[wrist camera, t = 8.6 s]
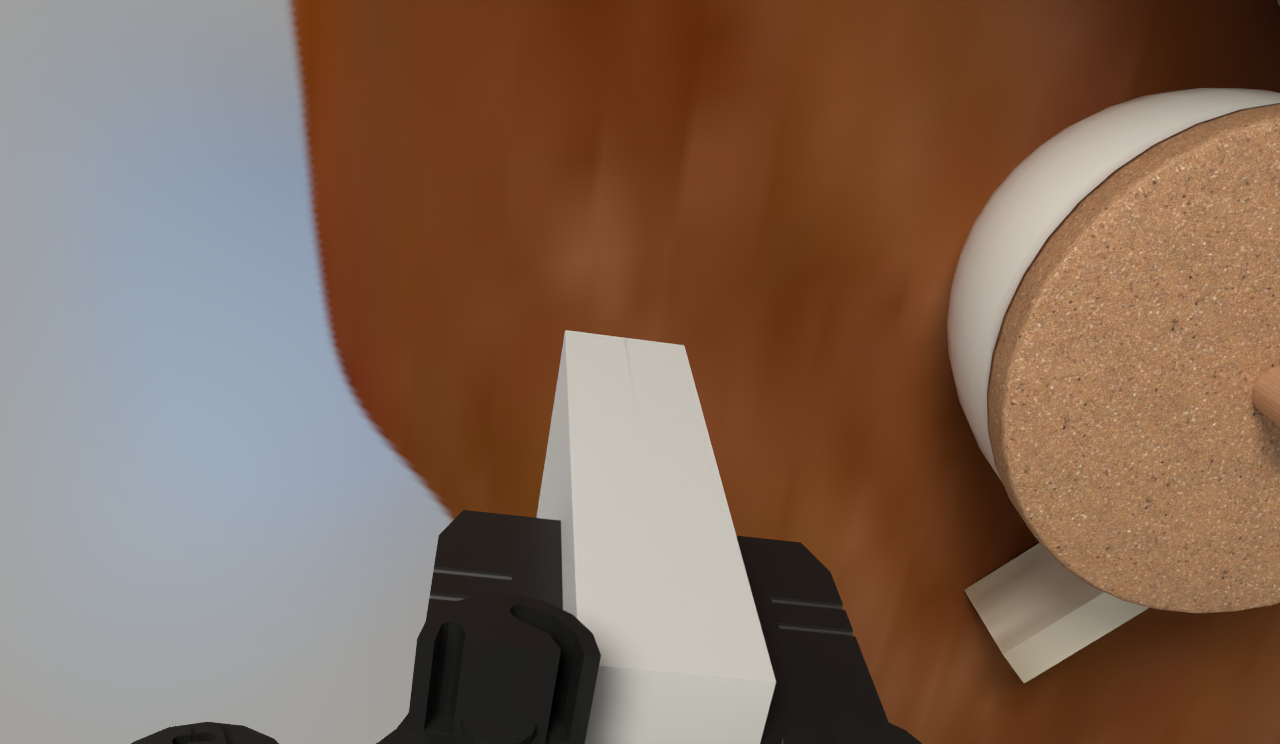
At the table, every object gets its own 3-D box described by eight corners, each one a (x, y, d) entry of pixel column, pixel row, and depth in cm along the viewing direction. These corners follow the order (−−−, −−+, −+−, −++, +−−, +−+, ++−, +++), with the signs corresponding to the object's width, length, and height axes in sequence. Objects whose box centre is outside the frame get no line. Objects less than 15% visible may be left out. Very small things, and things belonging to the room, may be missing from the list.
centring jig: (1214, -208, 26) (1294, -216, 24) (1584, -133, 28) (1701, -132, 25) (956, 615, 34) (993, 681, 32) (1253, 642, 36) (1314, 707, 33)
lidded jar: (1126, -53, 27) (1403, -11, 19) (1383, 237, 31) (1715, 384, 22) (802, 289, 30) (916, 464, 21) (1072, 522, 34) (1264, 751, 25)
